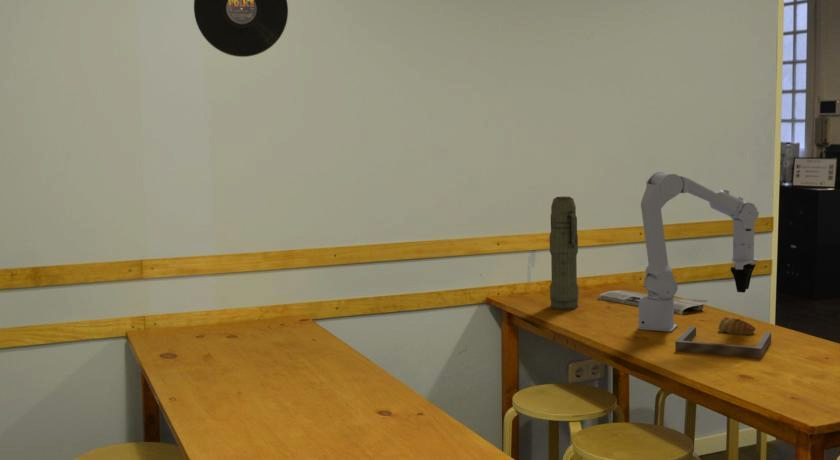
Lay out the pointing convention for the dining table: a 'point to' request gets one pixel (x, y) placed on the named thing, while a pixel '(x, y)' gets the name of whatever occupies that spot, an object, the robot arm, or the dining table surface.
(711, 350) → the grey u-shaped frame
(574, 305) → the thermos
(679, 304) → the newspaper
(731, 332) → the pastry
